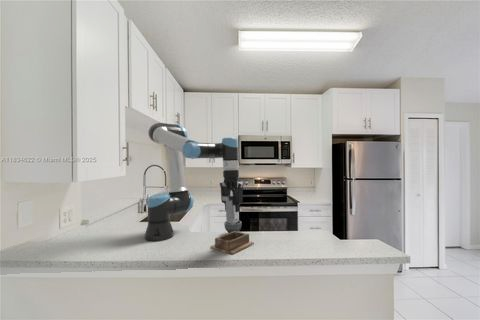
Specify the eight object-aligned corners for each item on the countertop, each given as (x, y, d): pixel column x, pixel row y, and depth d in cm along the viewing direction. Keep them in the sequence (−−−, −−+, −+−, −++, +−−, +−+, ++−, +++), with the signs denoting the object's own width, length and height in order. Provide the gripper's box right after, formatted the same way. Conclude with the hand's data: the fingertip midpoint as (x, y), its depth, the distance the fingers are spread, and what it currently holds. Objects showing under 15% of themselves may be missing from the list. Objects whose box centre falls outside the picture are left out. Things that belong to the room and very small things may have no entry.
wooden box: (210, 248, 114) (210, 237, 114) (232, 239, 127) (232, 229, 127) (233, 254, 106) (232, 243, 106) (253, 244, 118) (253, 234, 118)
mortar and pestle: (241, 237, 130) (240, 215, 130) (223, 237, 130) (223, 215, 130) (242, 231, 141) (241, 210, 141) (226, 231, 142) (226, 210, 142)
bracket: (223, 223, 114) (222, 196, 114) (235, 219, 121) (234, 194, 121) (229, 225, 111) (228, 196, 111) (241, 220, 118) (240, 194, 119)
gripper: (212, 170, 119) (214, 217, 119) (239, 169, 108) (241, 221, 108) (223, 169, 125) (224, 214, 124) (249, 169, 114) (251, 218, 114)
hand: (232, 217), depth 116 cm, fingers closed on bracket, 4 cm apart
